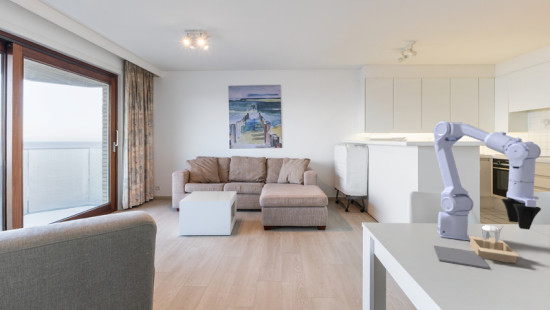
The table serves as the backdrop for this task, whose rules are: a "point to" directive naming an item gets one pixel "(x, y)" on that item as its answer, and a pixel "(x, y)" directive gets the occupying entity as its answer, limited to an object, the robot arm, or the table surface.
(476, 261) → the mat
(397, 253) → the table surface
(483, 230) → the milkshake
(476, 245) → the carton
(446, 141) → the robot arm
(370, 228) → the table surface
